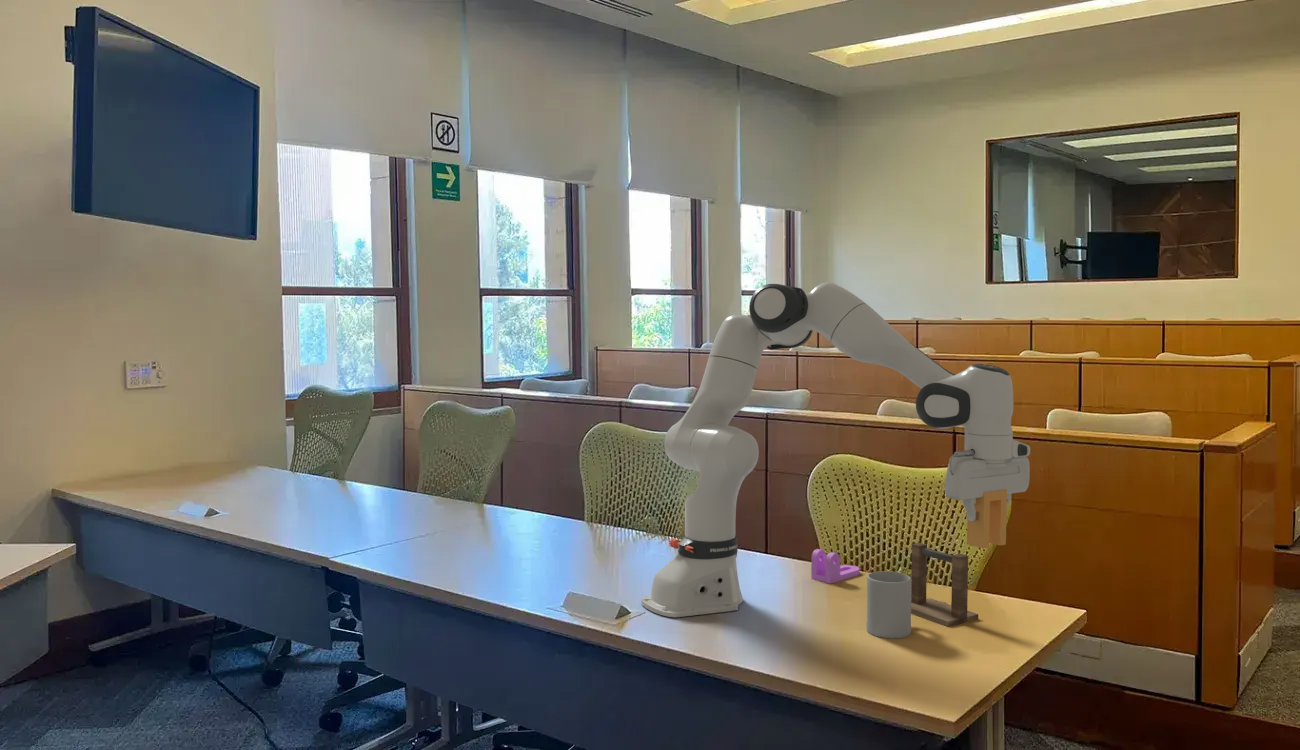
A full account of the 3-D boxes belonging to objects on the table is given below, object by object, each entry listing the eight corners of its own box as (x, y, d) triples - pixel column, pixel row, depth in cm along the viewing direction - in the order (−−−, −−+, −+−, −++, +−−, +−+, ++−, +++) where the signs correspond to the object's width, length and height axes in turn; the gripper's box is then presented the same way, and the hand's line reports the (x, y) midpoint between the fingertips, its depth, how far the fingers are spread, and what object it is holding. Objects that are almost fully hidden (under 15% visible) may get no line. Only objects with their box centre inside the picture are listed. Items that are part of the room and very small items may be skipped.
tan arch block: (983, 548, 182) (984, 492, 181) (966, 544, 185) (967, 489, 185) (1005, 544, 185) (1007, 489, 184) (989, 540, 188) (990, 486, 188)
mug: (901, 641, 180) (902, 585, 180) (859, 633, 185) (860, 578, 185) (923, 624, 190) (923, 571, 190) (882, 617, 195) (883, 565, 194)
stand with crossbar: (947, 626, 189) (948, 559, 188) (899, 609, 200) (900, 546, 199) (978, 619, 194) (979, 553, 193) (930, 602, 205) (930, 540, 204)
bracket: (830, 584, 220) (830, 554, 219) (811, 579, 224) (811, 550, 224) (863, 573, 228) (864, 545, 228) (845, 569, 233) (845, 541, 232)
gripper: (963, 453, 176) (961, 527, 177) (1036, 446, 186) (1034, 515, 187) (937, 449, 182) (936, 520, 182) (1009, 442, 192) (1008, 510, 193)
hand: (986, 518), depth 185 cm, fingers closed on tan arch block, 6 cm apart
